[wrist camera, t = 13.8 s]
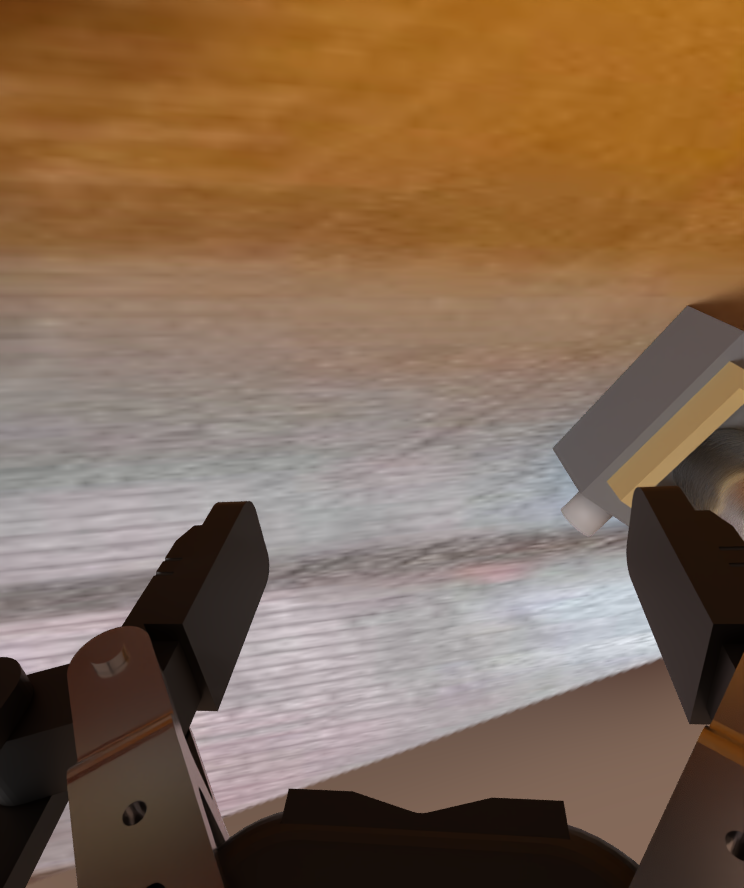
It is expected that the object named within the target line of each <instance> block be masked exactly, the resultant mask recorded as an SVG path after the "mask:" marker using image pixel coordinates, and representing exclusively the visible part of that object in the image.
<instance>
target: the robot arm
mask: <svg viewBox="0 0 744 888" xmlns="http://www.w3.org/2000/svg"><path fill="white" fill-rule="evenodd" d="M626 555H627V565H628V571H629V575H630V578H631V581H632V583H633V586H634V588H635V590H636V593H637V595H638V598H639V600H640V603H641V605H642V608H643V610H644V613H645V615H646V618H647V620H648V623H649V625H650V628H651V630H652V633H653V635H654V637H655V640H656V642H657V645H658V647H659V650H660V652H661V655H662V657H663V660H664V662H665V665H666V667H667V670H668V672H669V674H670V677H671V679H672V682H673V684H674V687H675V689H676V692H677V694H678V697H679V699H680V702H681V704H682V707H683V709H684V712H685V714H686V717H687V719H688V722H689V724H710V726H705V727H704V729H703V731H702V732H701V734H700V736H699V738H698V741H697V743H696V745H695V747H694V749H693V751H692V753H691V755H690V758H689V760H688V762H687V764H686V766H685V768H684V770H683V773H682V775H681V777H680V779H679V781H678V784H677V785H676V788H675V790H674V792H673V794H672V796H671V798H670V800H669V803H668V805H667V807H666V809H665V811H664V814H663V815H662V818H661V820H660V822H659V824H658V826H657V828H656V830H655V833H654V835H653V837H652V839H651V841H650V843H649V845H648V848H647V850H646V852H645V854H644V856H643V858H642V860H641V863H640V865H638V864H637V863H636V862H635V861H634V860H632V859H631V858H630V857H628V856H627V855H625V854H624V853H623V852H621V851H620V850H619V849H617V848H615V847H614V846H612V845H611V844H609V843H607V842H606V841H604V840H602V839H601V838H599V837H597V836H595V835H592V834H590V833H588V832H586V831H584V830H582V829H579V828H576V827H573V826H570V825H567V819H566V813H565V808H564V802H563V801H553V800H531V799H508V798H489V799H484V800H481V801H476V802H472V803H467V804H463V805H459V806H454V807H450V808H446V809H442V810H437V811H433V812H428V813H415V812H412V811H409V810H406V809H403V808H400V807H396V806H394V805H391V804H388V803H385V802H382V801H379V800H376V799H373V798H370V797H367V796H364V795H361V794H358V793H355V792H353V791H330V790H329V791H328V790H307V789H289V791H288V795H287V799H286V803H285V808H284V811H283V812H280V813H276V814H273V815H271V816H268V817H265V818H263V819H260V820H258V821H257V822H254V823H253V824H251V825H249V826H247V827H245V828H243V829H242V830H241V831H239V832H237V833H236V834H234V835H233V836H231V837H229V835H228V832H227V830H226V828H225V825H224V822H223V820H222V817H221V814H220V811H219V809H218V806H217V803H216V800H215V797H214V794H213V791H212V788H211V785H210V782H209V779H208V776H207V773H206V770H205V768H204V765H203V762H202V759H201V756H200V753H199V750H198V747H197V744H196V741H195V738H194V735H193V733H192V730H191V728H190V724H191V722H192V720H193V717H194V715H195V712H196V711H218V709H219V706H220V704H221V701H222V699H223V696H224V693H225V691H226V688H227V685H228V683H229V680H230V678H231V675H232V672H233V670H234V667H235V665H236V662H237V659H238V657H239V654H240V651H241V649H242V646H243V644H244V641H245V638H246V636H247V633H248V631H249V628H250V625H251V623H252V620H253V618H254V615H255V612H256V610H257V607H258V604H259V602H260V599H261V597H262V594H263V591H264V589H265V586H266V583H267V580H268V575H269V557H268V552H267V549H266V545H265V542H264V538H263V534H262V531H261V527H260V524H259V520H258V516H257V513H256V509H255V507H254V505H253V503H252V502H250V501H241V502H218V503H216V504H215V505H214V506H213V508H212V509H211V511H210V513H209V514H208V516H207V518H206V519H205V521H204V523H203V524H202V525H195V526H193V527H192V528H191V529H190V530H188V531H187V532H186V533H185V534H184V535H182V536H181V537H180V538H179V539H178V540H176V542H175V543H174V545H173V546H172V548H171V550H170V551H169V553H168V554H167V556H166V557H165V561H163V562H162V564H161V565H160V567H159V568H158V570H157V572H156V576H153V578H152V579H151V581H150V583H149V584H148V586H147V587H146V589H145V590H144V592H143V594H142V595H141V597H140V598H139V600H138V601H137V603H136V605H135V606H134V608H133V609H132V611H131V612H130V614H129V616H128V617H127V619H126V620H125V622H124V623H123V625H122V627H117V628H114V629H110V630H108V631H105V632H103V633H101V634H99V635H97V636H96V637H94V638H93V639H91V640H90V641H88V642H87V643H86V644H85V645H84V646H83V647H81V648H80V649H79V651H78V652H77V653H76V654H75V655H74V657H73V658H72V660H71V662H70V664H66V665H63V666H59V667H55V668H51V669H48V670H44V671H40V672H36V673H33V674H29V675H26V674H25V672H24V671H23V669H22V667H21V666H20V664H19V663H18V662H17V661H16V660H14V659H12V658H8V657H0V888H25V887H26V885H27V883H28V881H29V879H30V877H31V875H32V873H33V871H34V869H35V867H36V865H37V863H38V861H39V859H40V857H41V855H42V853H43V851H44V849H45V847H46V845H47V843H48V841H49V839H50V837H51V835H52V833H53V831H54V829H55V827H56V825H57V823H58V821H59V819H60V817H61V815H62V813H63V810H64V808H65V806H66V804H67V802H68V800H69V809H70V818H71V828H72V838H73V847H74V857H75V867H76V876H77V886H78V888H744V541H743V539H742V538H741V536H740V535H739V534H738V532H737V531H736V529H735V528H734V527H733V526H732V525H731V524H729V523H728V522H726V521H725V520H723V519H722V518H721V517H719V516H718V515H716V514H715V513H713V512H712V511H711V510H694V508H693V507H692V505H691V504H690V502H689V500H688V499H687V497H686V496H685V494H684V493H683V491H682V490H681V488H680V487H679V486H654V487H637V488H636V489H635V490H634V493H633V498H632V507H631V515H630V523H629V531H628V539H627V549H626Z"/></svg>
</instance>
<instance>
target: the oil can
mask: <svg viewBox="0 0 744 888" xmlns="http://www.w3.org/2000/svg"><path fill="white" fill-rule="evenodd" d="M673 481H674V483H675V486H679V487H680V488H681V490H682V491H683V493H684V494H685V496H686V497H687V499H688V500H689V502H690V503H691V504H692V505H693V506H694V507H695V509H696V510H711V511H712V512H713V513H715V514H716V515H718V516H719V517H721V518H722V519H723V520H725V521H726V522H728V523H729V524H731V525H732V526H733V527H734V528H735V529H736V531H737V532H738V534H739V535H740V536H741V538H742V539H743V541H744V431H741V430H738V429H734V428H719V429H716V430H715V431H714V432H713V433H712V434H711V435H710V436H709V437H708V438H706V439H705V440H704V441H703V442H702V443H701V444H700V445H699V446H698V447H697V448H696V449H695V450H694V451H693V452H691V453H690V454H689V455H688V456H687V457H686V458H685V459H684V460H683V461H682V462H681V463H680V464H679V465H678V466H676V467H675V468H674V469H673Z"/></svg>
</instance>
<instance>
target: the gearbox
mask: <svg viewBox="0 0 744 888" xmlns="http://www.w3.org/2000/svg"><path fill="white" fill-rule="evenodd" d="M719 428H734V429H738V430H741V431H744V331H742V330H740V329H738V328H736V327H733V326H731V325H729V324H727V323H725V322H722V321H720V320H718V319H716V318H714V317H711V316H709V315H707V314H705V313H702V312H700V311H698V310H696V309H694V308H691V307H689V306H687V307H686V308H685V309H684V310H683V311H682V312H681V313H680V314H679V315H678V316H677V317H676V318H675V319H674V320H673V321H672V323H671V324H670V325H669V326H668V327H667V328H666V329H665V330H664V331H663V332H662V333H661V334H660V335H659V336H658V337H657V338H656V339H655V341H654V342H653V343H652V344H651V345H650V346H649V347H648V348H647V349H646V350H645V351H644V352H643V353H642V354H641V355H640V356H639V357H638V359H637V360H636V361H635V362H634V363H633V364H632V365H631V366H630V367H629V368H628V369H627V370H626V371H625V372H624V373H623V374H622V375H621V377H620V378H619V379H618V380H617V381H616V382H615V383H614V384H613V385H612V386H611V387H610V388H609V389H608V390H607V391H606V392H605V393H604V395H603V396H602V397H601V398H600V399H599V400H598V401H597V402H596V403H595V404H594V405H593V406H592V407H591V408H590V409H589V410H588V411H587V413H586V414H585V415H584V416H583V417H582V418H581V419H580V420H579V421H578V422H577V423H576V424H575V425H574V426H573V427H572V428H571V429H570V431H569V432H568V433H567V434H566V435H565V436H564V437H563V438H562V439H561V440H560V441H559V442H558V443H557V444H556V445H555V446H554V448H553V450H554V452H555V453H556V455H557V457H558V458H559V460H560V461H561V463H562V465H563V466H564V468H565V470H566V471H567V473H568V474H569V476H570V478H571V479H572V481H573V482H574V484H575V486H576V487H577V489H578V490H579V492H578V493H577V494H576V495H575V496H574V497H573V498H572V499H571V500H570V501H569V502H568V503H567V504H566V505H565V506H564V507H563V508H562V509H561V511H562V514H563V515H564V517H565V518H566V519H567V520H568V521H569V523H570V524H571V525H572V526H574V527H575V528H576V529H577V530H578V531H580V532H581V533H582V534H584V535H586V536H588V537H591V536H592V535H593V534H594V533H595V532H596V531H597V530H598V529H600V528H601V527H602V526H603V525H604V524H605V523H606V522H607V521H608V520H609V519H610V518H611V517H612V516H614V517H615V518H617V519H618V520H620V521H621V522H623V523H624V524H626V525H627V526H629V523H630V515H631V507H632V498H633V493H634V490H635V489H636V488H637V487H654V486H675V483H674V481H673V469H674V468H675V467H676V466H678V465H679V464H680V463H681V462H682V461H683V460H684V459H685V458H686V457H687V456H688V455H689V454H690V453H691V452H693V451H694V450H695V449H696V448H697V447H698V446H699V445H700V444H701V443H702V442H703V441H704V440H705V439H706V438H708V437H709V436H710V435H711V434H712V433H713V432H714V431H715V430H716V429H719ZM690 504H691V503H690ZM691 505H692V504H691ZM692 507H693V508H694V510H696V509H695V507H694V506H693V505H692Z"/></svg>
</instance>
